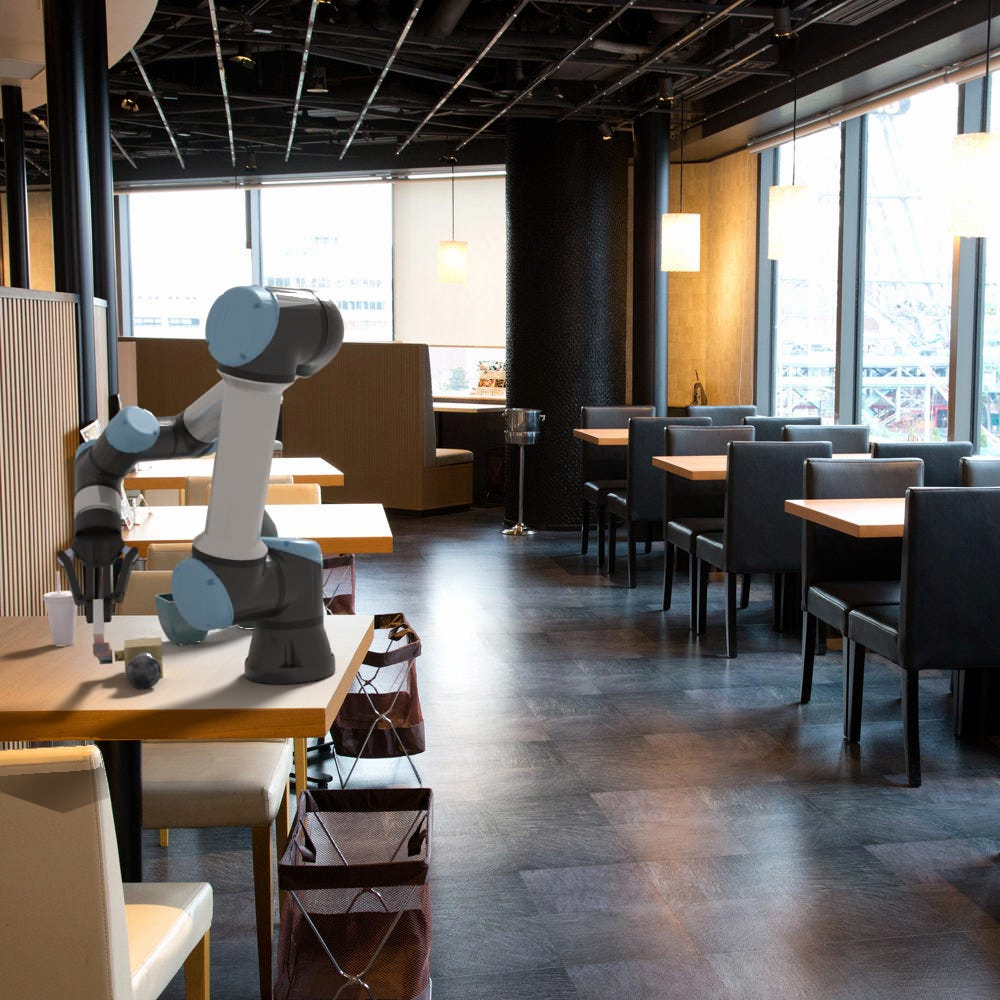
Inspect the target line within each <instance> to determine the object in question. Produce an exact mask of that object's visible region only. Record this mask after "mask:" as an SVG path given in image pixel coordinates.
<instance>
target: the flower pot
mask: <svg viewBox="0 0 1000 1000" xmlns="http://www.w3.org/2000/svg"><path fill="white" fill-rule="evenodd" d="M154 602H155V607H156V614H157V617H158V621H159V624H160V628H161V629H162V632H163V633H164V635H165V636H166V638H167V639H168V641H169V642H171V641H172V643H173V642H174V643H173V644H175V645H176V644H182V645H185V644H184V643H189V644H191V643H190V642H195V643H199V642H198V641H202V642H203V641H204V640H205V639H206V637H207V635H208V633H209V631H204V630H199V629H197V628H195V627H193V626H191V625H190V624H189V623H188V622H187V621H186V620H185V619H184V618H183V617H182V615H181V614H180V612H179V610H178V608H177V606H176V605H175V602H174V599H173V595H172V592H167V593H160V594H155V595H154Z"/></svg>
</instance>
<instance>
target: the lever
mask: <svg viewBox="0 0 1000 1000" xmlns="http://www.w3.org/2000/svg"><path fill="white" fill-rule="evenodd" d="M92 655H93V656H94V657H95V658H97V660H98V661H99V665H110V664H113V662H114V661H113V659H114V658H113V649H112V648H111V644H110V642H104V643H94V642H93V643H92Z"/></svg>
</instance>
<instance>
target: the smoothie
mask: <svg viewBox="0 0 1000 1000" xmlns="http://www.w3.org/2000/svg"><path fill="white" fill-rule="evenodd" d="M60 574H61V573H60V571H59V570H57V571H56V587H57V589H56V590H55V591H51V592H46V593H44V594H43V599H42V600H43V602H45V609H46V613H47V617H48V624H49V628H50V634H51V639H52V645H53V644H55V645H69V646H71V645H70V644H73V643H74V644H75V640H76V639H75V637H76V624H77V612H78V611H77V610H78V606H77V605H75V602H74V599H73V596H72V593H71V590H61V577H60V576H61V575H60ZM74 644H73V645H74Z"/></svg>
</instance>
